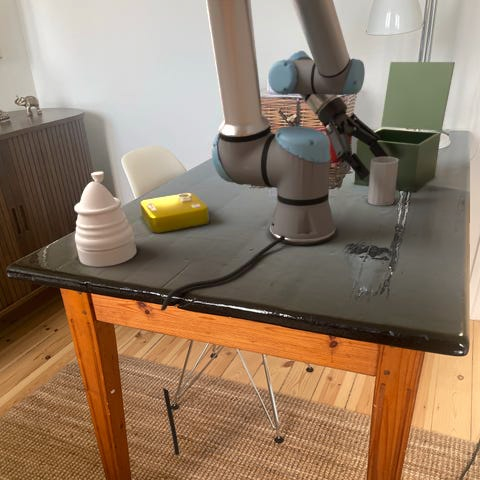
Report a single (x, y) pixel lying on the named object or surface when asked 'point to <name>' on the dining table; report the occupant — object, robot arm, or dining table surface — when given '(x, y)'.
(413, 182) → the green open box
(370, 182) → the tumbler
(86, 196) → the honey pot
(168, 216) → the yellow box
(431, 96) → the lid
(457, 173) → the dining table surface
